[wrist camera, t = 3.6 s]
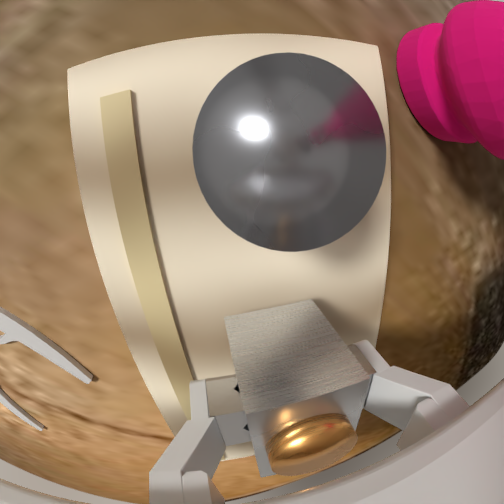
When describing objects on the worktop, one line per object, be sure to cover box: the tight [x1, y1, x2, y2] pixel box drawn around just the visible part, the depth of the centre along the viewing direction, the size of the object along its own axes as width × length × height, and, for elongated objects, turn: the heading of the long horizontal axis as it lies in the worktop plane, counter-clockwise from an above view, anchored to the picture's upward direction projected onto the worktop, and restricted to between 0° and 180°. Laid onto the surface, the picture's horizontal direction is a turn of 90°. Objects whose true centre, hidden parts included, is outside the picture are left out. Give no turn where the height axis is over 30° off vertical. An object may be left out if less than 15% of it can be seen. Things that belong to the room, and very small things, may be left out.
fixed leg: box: [192, 52, 386, 252], centre depth 6 cm, size 3×3×5 cm
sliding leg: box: [224, 299, 370, 477], centre depth 8 cm, size 4×3×5 cm
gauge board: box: [68, 34, 391, 461], centre depth 11 cm, size 21×11×2 cm, turn 6°
